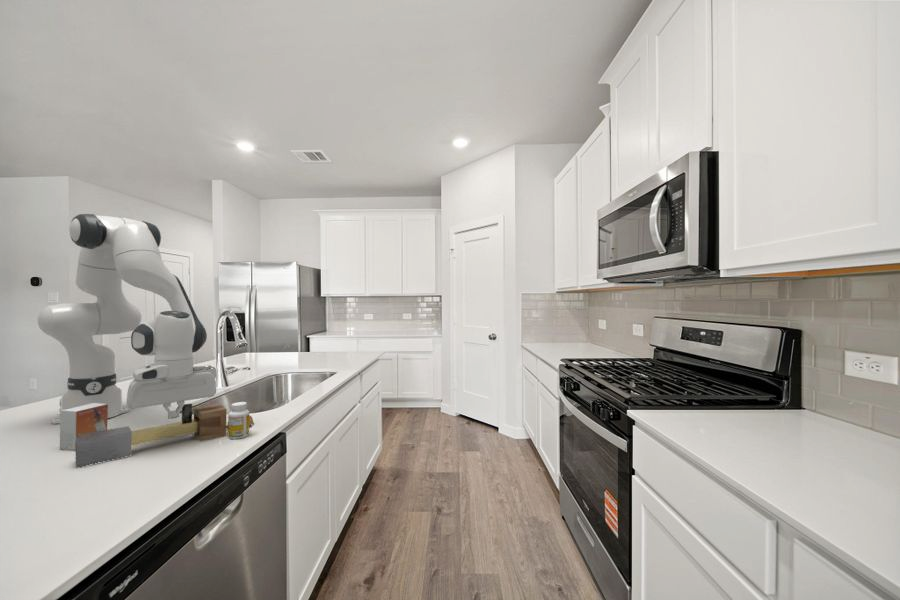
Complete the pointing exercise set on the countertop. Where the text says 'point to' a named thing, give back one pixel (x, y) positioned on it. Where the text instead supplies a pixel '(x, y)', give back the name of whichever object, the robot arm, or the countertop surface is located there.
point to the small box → (81, 422)
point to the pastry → (249, 421)
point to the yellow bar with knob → (167, 428)
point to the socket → (210, 421)
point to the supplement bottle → (238, 421)
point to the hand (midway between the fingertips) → (173, 417)
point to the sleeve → (103, 446)
